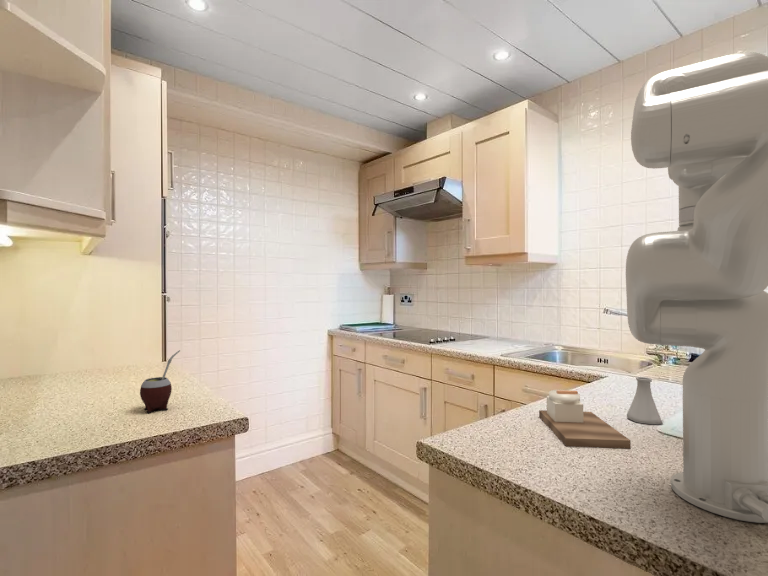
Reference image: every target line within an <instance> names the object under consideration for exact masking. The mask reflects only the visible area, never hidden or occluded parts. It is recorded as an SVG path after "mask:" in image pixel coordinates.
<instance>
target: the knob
mask: <svg viewBox="0 0 768 576" xmlns="http://www.w3.org/2000/svg"><path fill="white" fill-rule="evenodd" d="M546 411H547V414H548V415H549V416H550V417H551V418H552V419H553V420H554V421H555V422H581V423H583V412H584V404H583V403H582V402H581V394H580V393H579V392H578V391H577V390H567V389H552V390H551V389H550V390H549V391H548V395H546Z"/></svg>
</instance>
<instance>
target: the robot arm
mask: <svg viewBox="0 0 768 576" xmlns="http://www.w3.org/2000/svg"><path fill="white" fill-rule="evenodd" d="M630 130H631V131H630V146H631V150H632V154H633V157H634V159H635V160H636V162H637V163H638V164H639V165H640V166H641V167H644V168H647V169H655V170H656V169H665V168H667V174H668V177H669V180H671V181H672V182H673V183H674V184H675V185H676V186H678V228H677V230H673V231H671V230H670V231H661V232H652V233H647V234H644V235H641V236H639V237H637V238H636V239H635V240H634V241H633V242H632V243H631V245H629V248H628V250H627V256H626V260H625V290H626V291H625V295H626V313H627V325H628V327H629V331H630V333H631V335H632V337H633V338H634V339H635V340H637V341H639V342H641V343H643V344H649V345H656V346H658V345H660V346H670V347H671V346H672V347H686V348H687V347H689V348H694V349H695V348H697V349H703V350H704V351H703V352H702V353H701V354H700V355H699V356H696V358H695V359H694V360H693V361H691V363H690V364H689V365H688V366H687V367H686V369H685V371H684V372H683V377H682V455H683V456H682V458H683V459H682V462H683V463H682V465H683V466H682V468H683V471H681V472H677V473H675V474H673V475H672V476H671V478H670V486H671V487H670V488H671V489H672V491H673V492H674V493H675V494H676V495H677V496H678V497H680V498H682V500H685V501H687V503H690V504H691V505H694V506H695V507H698V508H699V509H702V510H704V511H707V512H709V513H713V514H716V515H719V516H722V517H725V518H728V519H732V520H737V521H742V522H749V523H758V524H768V292H767V291H765V290H766V289H767V288H768V56H767V55H765V54H763V53H760V52H759V53H758V52H753V51H745V52H744V51H743V52H736V53H735V52H734V53H731V54H726V55H721V56H719V57H713V58H710V59H706V60H703V61H699V62H696V63H690V64H687V65H684V66H679V67H676V68H673V69H667V70H664V71H661V72H660V73H657V74H655V75H653V76H652V77H650V78H648V80H646V81H645V83H644V84H643V85H642V86H641V87H640V90H639V91H638V94H637V96H636V99H635V103H634V107H633V114H632V121H631V129H630Z"/></svg>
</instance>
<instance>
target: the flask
mask: <svg viewBox="0 0 768 576" xmlns="http://www.w3.org/2000/svg"><path fill="white" fill-rule="evenodd" d="M635 380H636V384H637V386H636V390H635V395H634V396H633V398H632V401H631V404H630V406H629V409H628V411H627V413H626V418H627V419H628V420H630V421H633V422H635V423H639V424H640V423H641V424H647V425H648V424H649V425H660V424H661V425H663V424H664V422H663V421H662V418H661V416H660V414H659V410H658V408H657V405H656V403H655V400H654V397H653V393H652V388H651V383H652V378H650V377H646V376H636V377H635Z"/></svg>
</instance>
